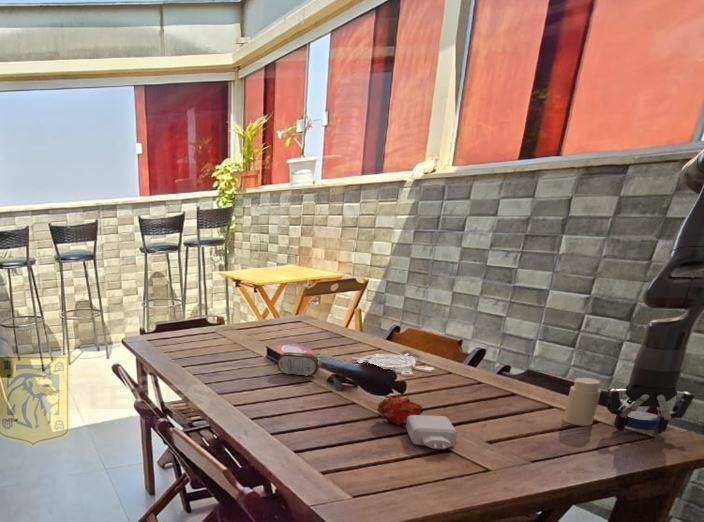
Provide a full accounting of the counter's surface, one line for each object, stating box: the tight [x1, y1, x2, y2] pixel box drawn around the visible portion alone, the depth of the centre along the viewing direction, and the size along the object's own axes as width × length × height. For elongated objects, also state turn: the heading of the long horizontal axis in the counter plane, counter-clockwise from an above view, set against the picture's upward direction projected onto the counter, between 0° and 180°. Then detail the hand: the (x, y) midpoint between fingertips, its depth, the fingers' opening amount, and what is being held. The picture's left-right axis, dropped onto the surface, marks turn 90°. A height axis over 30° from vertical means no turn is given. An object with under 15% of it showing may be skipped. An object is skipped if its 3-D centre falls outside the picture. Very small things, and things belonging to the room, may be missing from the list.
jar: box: [562, 377, 602, 427], centre depth 125 cm, size 6×6×11 cm
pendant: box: [351, 352, 436, 377], centre depth 183 cm, size 21×28×1 cm
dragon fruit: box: [376, 395, 425, 426], centre depth 136 cm, size 8×8×12 cm
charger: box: [405, 414, 458, 450], centre depth 123 cm, size 5×9×15 cm
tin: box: [276, 351, 321, 377], centre depth 183 cm, size 15×3×8 cm, turn 52°
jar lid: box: [625, 410, 661, 431], centre depth 117 cm, size 6×6×2 cm
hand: (638, 430), depth 118 cm, fingers closed on jar lid, 6 cm apart
